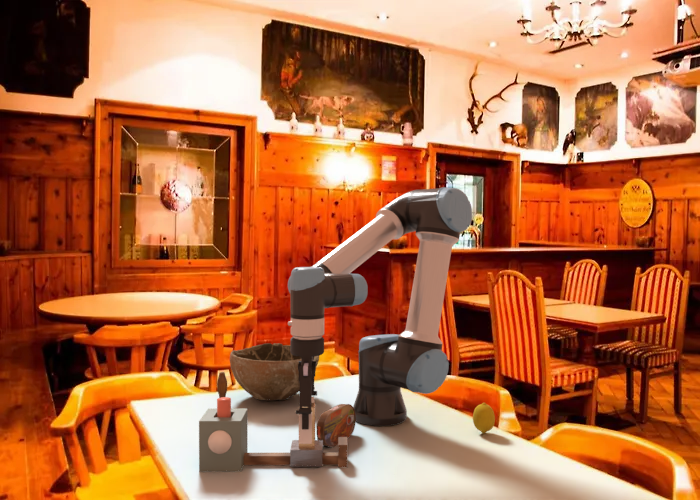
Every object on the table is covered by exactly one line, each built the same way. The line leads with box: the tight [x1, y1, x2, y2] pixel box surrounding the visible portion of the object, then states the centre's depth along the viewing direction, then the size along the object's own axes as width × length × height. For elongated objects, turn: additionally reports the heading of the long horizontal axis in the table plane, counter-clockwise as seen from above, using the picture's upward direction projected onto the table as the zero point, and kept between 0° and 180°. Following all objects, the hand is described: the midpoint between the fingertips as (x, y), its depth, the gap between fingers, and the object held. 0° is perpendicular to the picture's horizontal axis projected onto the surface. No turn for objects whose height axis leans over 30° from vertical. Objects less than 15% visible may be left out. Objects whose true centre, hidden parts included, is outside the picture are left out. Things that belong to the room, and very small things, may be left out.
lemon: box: [472, 402, 496, 434], centre depth 152 cm, size 6×6×8 cm
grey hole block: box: [198, 407, 248, 473], centre depth 131 cm, size 9×9×11 cm
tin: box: [315, 403, 357, 448], centre depth 146 cm, size 15×3×8 cm, turn 149°
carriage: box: [289, 402, 324, 468], centre depth 132 cm, size 7×6×13 cm
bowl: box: [229, 342, 320, 402], centre depth 182 cm, size 28×27×15 cm
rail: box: [243, 437, 348, 468], centre depth 132 cm, size 23×5×5 cm, turn 91°
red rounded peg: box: [216, 396, 232, 417], centre depth 131 cm, size 3×3×8 cm
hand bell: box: [216, 371, 228, 398], centre depth 150 cm, size 8×8×16 cm
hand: (306, 433), depth 132 cm, fingers open, 11 cm apart
